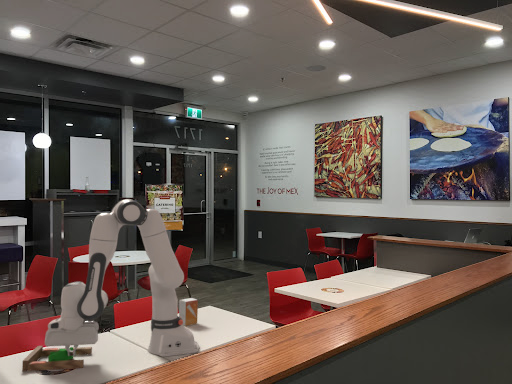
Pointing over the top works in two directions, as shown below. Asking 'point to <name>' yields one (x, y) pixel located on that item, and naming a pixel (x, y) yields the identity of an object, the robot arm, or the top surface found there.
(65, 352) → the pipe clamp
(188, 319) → the small box
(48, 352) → the guide channel
